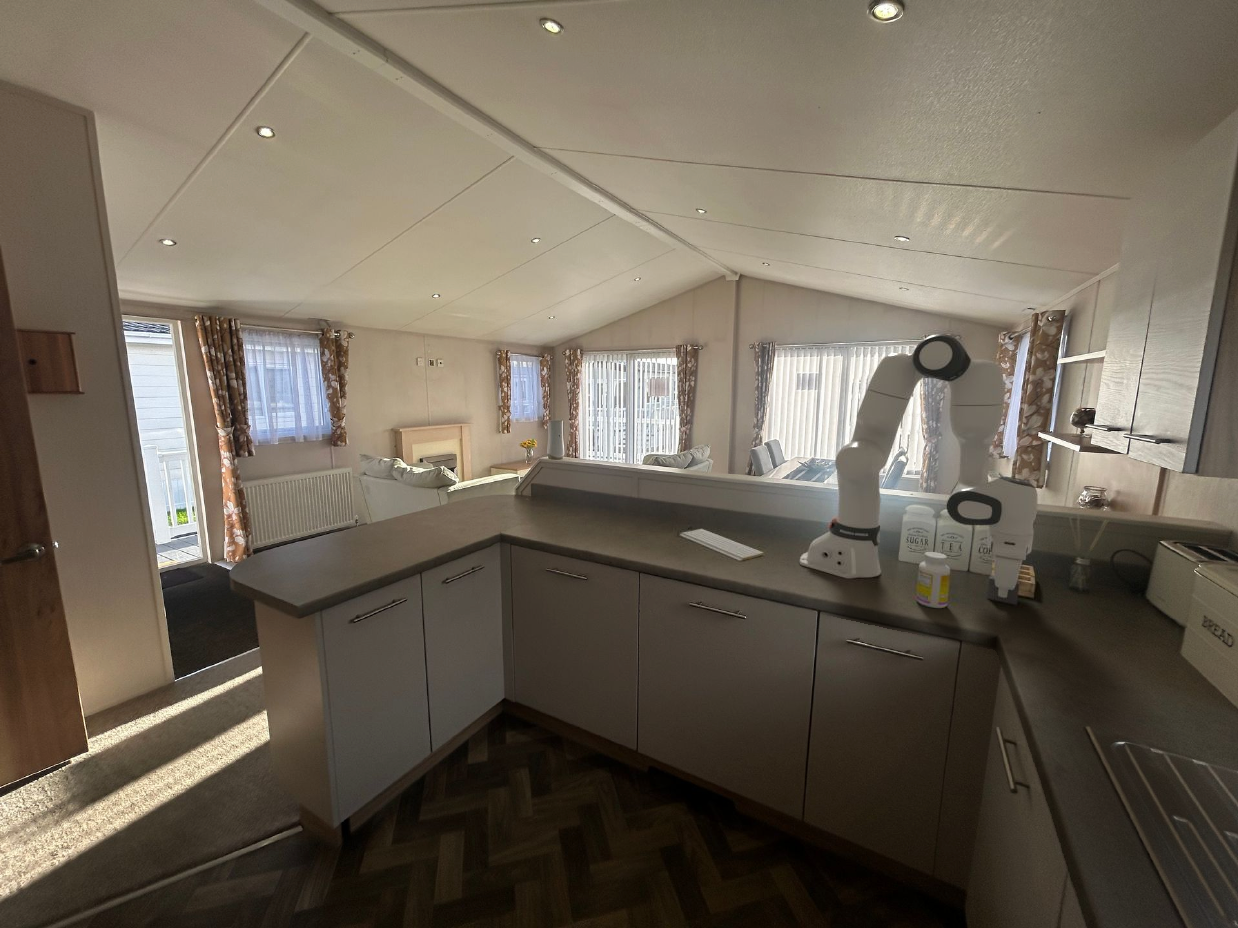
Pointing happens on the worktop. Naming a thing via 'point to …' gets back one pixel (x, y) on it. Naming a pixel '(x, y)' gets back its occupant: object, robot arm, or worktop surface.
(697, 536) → the white keyboard
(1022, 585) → the box
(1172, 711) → the worktop surface
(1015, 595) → the panel
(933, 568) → the supplement bottle
